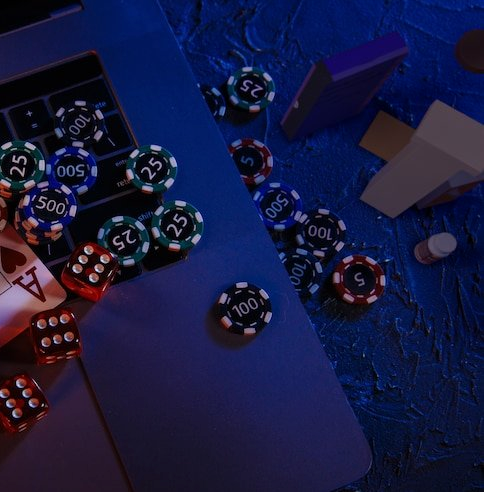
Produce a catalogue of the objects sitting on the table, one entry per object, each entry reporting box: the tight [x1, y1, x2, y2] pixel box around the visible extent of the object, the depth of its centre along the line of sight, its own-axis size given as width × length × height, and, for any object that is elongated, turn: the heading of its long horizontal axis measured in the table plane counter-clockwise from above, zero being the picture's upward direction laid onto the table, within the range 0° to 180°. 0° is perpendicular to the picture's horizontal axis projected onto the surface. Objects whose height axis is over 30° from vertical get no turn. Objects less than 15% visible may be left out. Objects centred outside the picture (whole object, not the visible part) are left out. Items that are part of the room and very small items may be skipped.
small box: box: [415, 170, 484, 210], centre depth 125 cm, size 8×6×13 cm
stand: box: [359, 99, 484, 219], centre depth 117 cm, size 12×8×30 cm, turn 56°
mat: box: [358, 109, 416, 163], centre depth 134 cm, size 12×10×1 cm
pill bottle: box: [414, 232, 458, 265], centre depth 124 cm, size 5×5×8 cm
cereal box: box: [279, 29, 411, 142], centre depth 125 cm, size 17×5×24 cm, turn 113°
